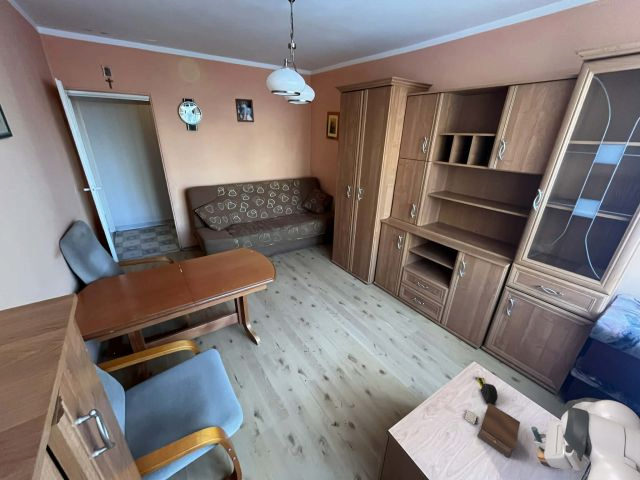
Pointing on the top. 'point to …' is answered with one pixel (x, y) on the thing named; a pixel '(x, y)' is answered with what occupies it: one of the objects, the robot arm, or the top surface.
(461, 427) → the top surface
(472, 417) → the felt pad
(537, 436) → the brush
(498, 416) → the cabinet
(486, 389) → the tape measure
